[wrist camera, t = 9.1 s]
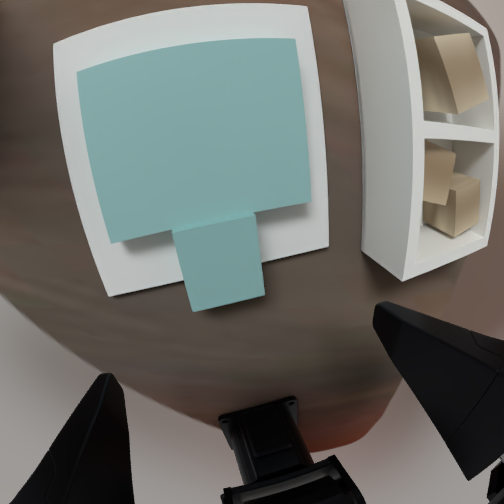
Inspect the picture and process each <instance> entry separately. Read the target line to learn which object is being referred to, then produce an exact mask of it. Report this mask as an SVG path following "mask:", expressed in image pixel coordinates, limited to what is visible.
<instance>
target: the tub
mask: <svg viewBox="0 0 504 504" xmlns="http://www.w3.org/2000/svg"><path fill="white" fill-rule="evenodd" d="M343 4H344V9H345V14H346V19H347V24H348V29H349V35H350V41H351V47H352V53H353V60H354V67H355V75H356V83H357V92H358V102H359V114H360V128H361V146H362V184H363V200H362V238H361V251H363V252H364V253H365V254H367V255H368V256H369V257H371V258H372V259H373V260H375V261H376V262H377V263H379V264H380V265H381V266H383V267H384V268H385V269H386V270H388V271H389V272H390V273H392V274H393V275H394V276H395V277H397V278H398V279H399V280H401V281H405V280H408V279H410V278H413V277H415V276H418V275H420V274H423V273H426V272H428V271H430V270H433V269H435V268H438V267H440V266H443V265H445V264H447V263H450V262H452V261H454V260H457V259H459V258H461V257H463V256H466V255H468V254H470V253H472V252H475V251H477V250H479V249H481V248H483V247H485V246H487V243H488V238H489V233H490V228H491V223H492V217H493V210H494V203H495V196H496V187H497V175H498V159H499V110H498V95H497V85H496V76H495V69H494V62H493V56H492V51H491V46H490V41H489V36H488V32H487V29H486V28H485V27H483V26H482V25H480V24H479V23H477V22H476V21H474V20H473V19H471V18H469V17H468V16H466V15H464V14H463V13H461V12H459V11H458V10H456V9H454V8H453V7H451V6H449V5H447V4H445V3H443V2H442V1H440V0H343ZM461 33H470V36H471V39H472V41H473V44H474V47H475V50H476V53H477V56H478V59H479V62H480V65H481V69H482V72H483V76H484V79H485V83H486V87H487V91H488V96H489V99H488V100H486V101H484V102H482V103H480V104H478V105H476V106H474V107H472V108H470V109H468V110H466V111H464V112H462V113H460V114H451V113H442V112H431V111H423V99H422V88H421V79H420V71H419V63H418V57H417V50H416V44H415V40H416V39H421V38H427V37H434V36H442V35H450V34H461ZM424 139H425V140H427V141H429V142H432V143H434V144H436V145H438V146H441V147H443V148H445V149H447V150H449V151H451V152H453V153H455V154H456V158H455V164H454V170H453V171H454V172H457V173H461V174H464V175H467V176H470V177H473V178H476V179H478V180H480V205H479V219H478V223H477V224H475V225H474V226H472V227H470V228H469V229H467V230H466V231H464V232H462V233H461V234H459V235H457V236H456V237H453V236H451V235H449V234H447V233H445V232H443V231H442V230H440V229H438V228H436V227H434V226H432V225H430V224H428V223H426V222H424V221H423V205H422V202H423V187H424Z"/></svg>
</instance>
